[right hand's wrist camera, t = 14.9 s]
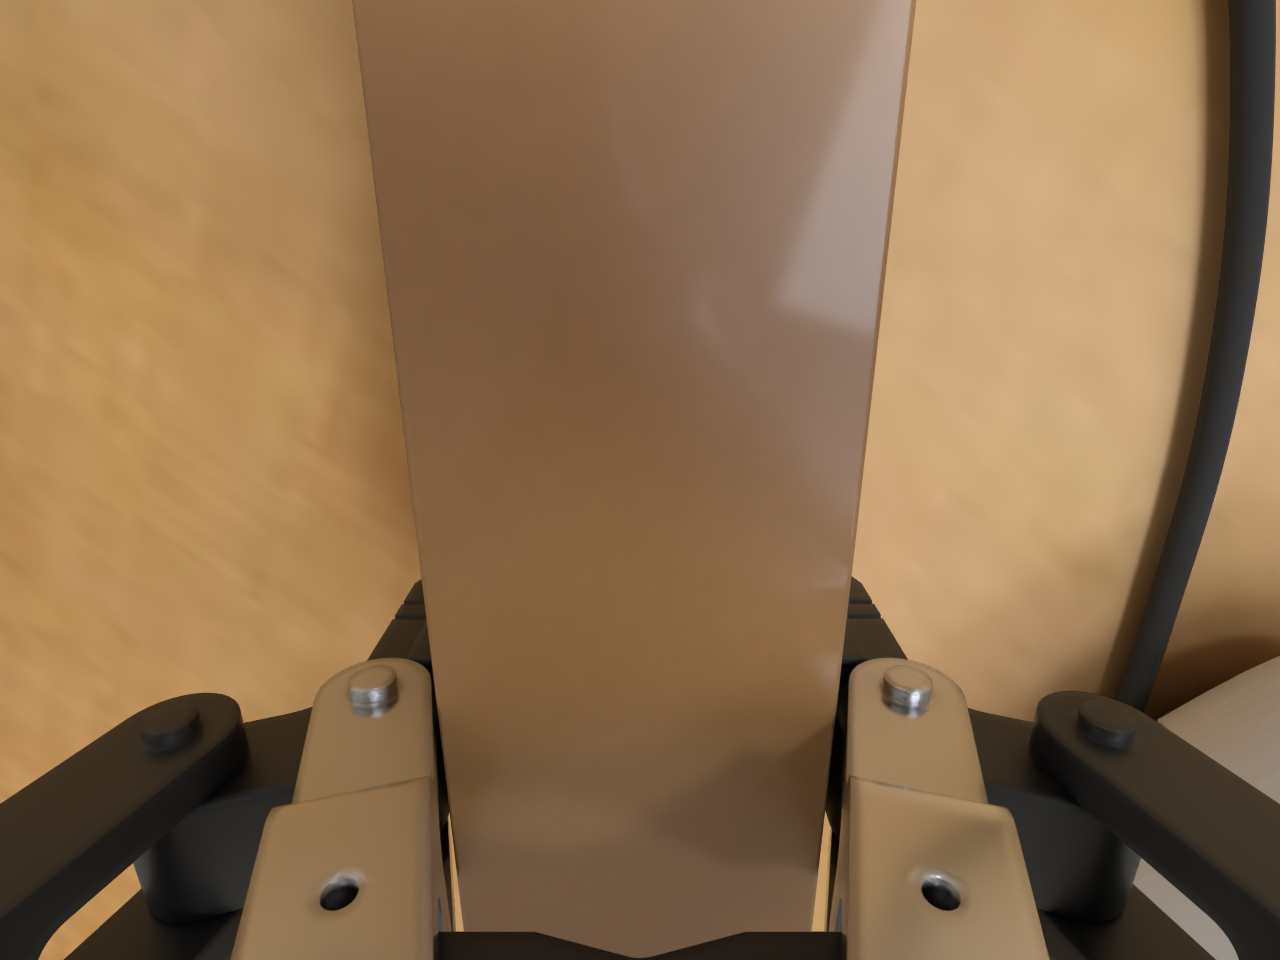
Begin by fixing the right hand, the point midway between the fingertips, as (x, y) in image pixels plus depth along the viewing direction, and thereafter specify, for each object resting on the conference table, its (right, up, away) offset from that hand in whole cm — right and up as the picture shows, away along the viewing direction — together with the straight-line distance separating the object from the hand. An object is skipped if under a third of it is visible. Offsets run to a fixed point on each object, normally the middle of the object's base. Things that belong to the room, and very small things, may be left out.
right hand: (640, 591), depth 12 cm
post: (0, +34, -10) cm, 35 cm away
